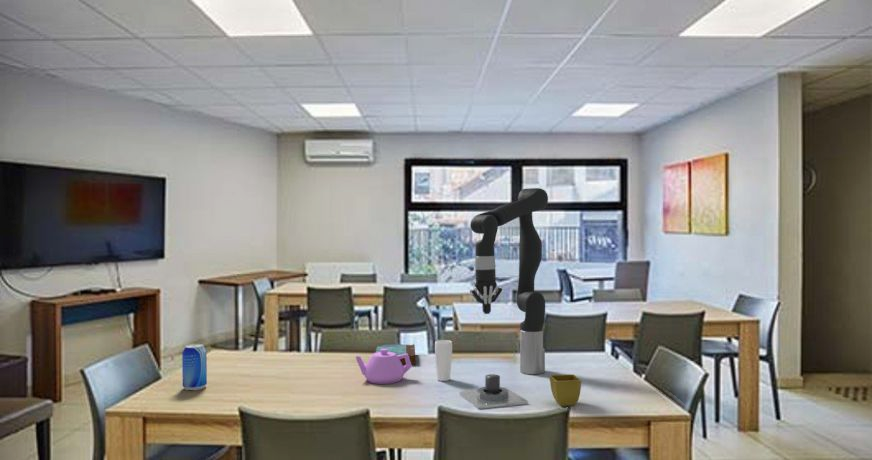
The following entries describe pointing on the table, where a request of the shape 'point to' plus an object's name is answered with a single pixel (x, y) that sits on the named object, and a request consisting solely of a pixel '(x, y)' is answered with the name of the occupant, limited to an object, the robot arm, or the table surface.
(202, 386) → the beer can
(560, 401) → the flower pot
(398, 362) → the teapot
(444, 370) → the drinking glass
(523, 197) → the robot arm
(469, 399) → the square base plate
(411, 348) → the book
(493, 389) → the cap
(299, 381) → the table surface
